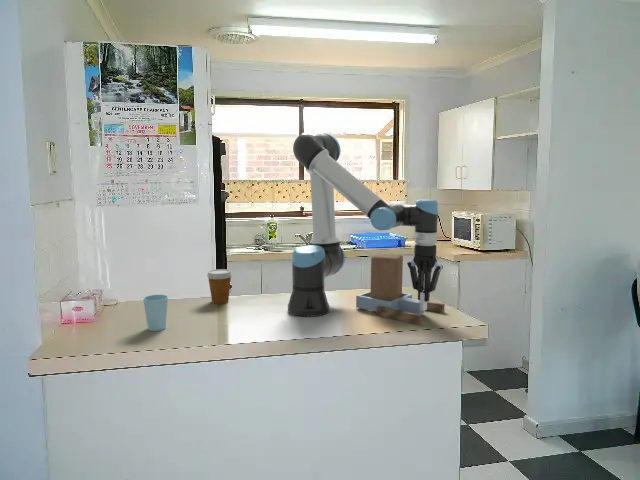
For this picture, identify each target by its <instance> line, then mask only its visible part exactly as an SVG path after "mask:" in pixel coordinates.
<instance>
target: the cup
mask: <svg viewBox="0 0 640 480" xmlns="http://www.w3.org/2000/svg"><path fill="white" fill-rule="evenodd" d="M142 300H143V305H144V312H145V319H146V325H147V329H148V331H150V332H151V331H152V332H158V331H163V330H165V329H166V327H167V318H168V317H167V315H168V314H167V313H168V302H169V296H168V295H166V294H151V295H146V296H144V297H143V298H142Z"/></svg>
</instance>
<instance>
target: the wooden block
mask: <svg viewBox="0 0 640 480" xmlns="http://www.w3.org/2000/svg"><path fill="white" fill-rule="evenodd" d="M403 265H404V255H402V254H400V253H388V252H387V253H386V252H379V253H376V254H374V255H373V256H372V257H371V258H370V291H371V293H370V298H375V299H380V300H385V301H393V300H395V299H398V298H401V297H402V293H403Z"/></svg>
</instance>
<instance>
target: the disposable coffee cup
mask: <svg viewBox="0 0 640 480" xmlns="http://www.w3.org/2000/svg"><path fill="white" fill-rule="evenodd" d="M232 275H233V274H232V271H231V270H229V269H227V268H226V269H225V268H223V269H222V268H220V269H219V268H218V269H211V270H208V272H207V275H206V276H207V279H208V283H209V284H208V286H209V290H210V297H211V303H213V304H217V305H218V304H226V303H228V302H229V299H230V297H229V296H230V291H231V290H230V289H231V279H232Z"/></svg>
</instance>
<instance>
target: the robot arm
mask: <svg viewBox="0 0 640 480" xmlns="http://www.w3.org/2000/svg"><path fill="white" fill-rule="evenodd" d="M341 151H342V150H341V145H340V143H339V141H338V139H336V137H334V136H333V135H331V134H328V133H325V132H314V131H305V132H302V133H301V134H299V135H298V136H297V137H296V138H295V140H294V142H293V145H292V153H293V155H294V157H295V159H296V160H297V161H298V162H299V164H301V166H303V167H304V168H305V171H306V172H307V173H308V174H309V177H310V196H311V197H310V199H311V215H312V216H311V217H312V234H313V235H312V238H311V240H310V241H309V245H302V246H299V247H297V248H295V249H294V250H293V252H292V257H291V263H292V264H291V265H292V268H291V269H292V270H291V272H292V278H291V279H292V281H291V282H292V290H291V293H290V298H289V301H288V304H287V312H288V313H289V314H291V315H293V316H299V317H317V316H323V315H326V314H328V313H329V312H330V303H329V302H328V298H327V295H326V291H325V278H326V277H331V276H333V275H336V274H337V273H338V272H339V271H340V270H341V269H342V268H343V267H344V265H345V261H346V255H345V254H346V253H345V252H344V249H342V247H341V241H340V239H339V238H338V237H337V236H336V233H337V232H336V213H335V196H334V194H335V192H334V191H337V192H338V193H339V194H340V195H341V196H342V197H344V199H346V200H347V201H348V202H350V203H351V204H352V205H353V206H354V207H355V208H356V209H357V210H359V211H360V212H361V213H363V215H364V216H366V217H367V218H368V219H370V224H371V225H372V227H373V228H374V229H375V230H378V231H389V230H391V229H393V228H397V227H400V226H401V227H402V226H403V227H414V243H415V244H414V250H413V253H414V256H413V259H412V260H410V261H408V262H406V264H407V266H408V269H409V273H410V278H411V284H412V289H413V290H416V291H417V299H418V300H420V311H424V312H425V311H428V310H427V302H428V301H430V296H431V295H430V293H432V292H434V291H435V290H436V287H437V285H438V284H437V283H438V281H439V276H440V272H441V271H442V269H443V268H444V266H443V265H442V264H439V263H438V259H437V258H436V257H437V245H436V244H437V243H438V237H437V236H438V233H437V232H438V219H439V217H438V215H439V211H438V210H439V209H438V208H439V207H438V205H439V204H438V201H437V200H435V199H425V198H424V199H423V198H422V199H420V198H419V199H417V200H415V204H400V203H397V204H396V203H386V202H385V201H384V200H383V199H382V198H381V197H380V196H378V194H376V193H375V192H374V191H373V190H371V189H370V188H369V187H368V186H366V185H365V184H364V183H363V182H361V180H359V179H358V178H357V177H356V176H354V175H353V174H352V173H350V171H349V170H347V169H346V168H345V167H343V166H342V165H341V164H340V163H339V162H338V160H339V159H340V156H341ZM433 269H434V271H432V270H433ZM432 272H433V273H432Z"/></svg>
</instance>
